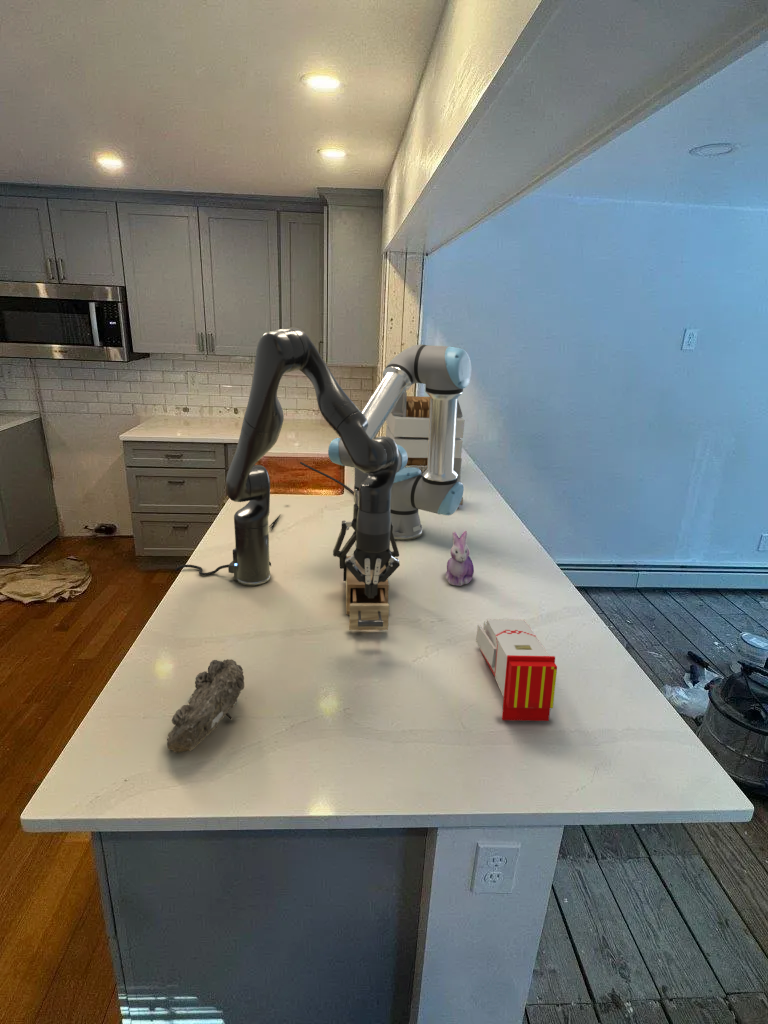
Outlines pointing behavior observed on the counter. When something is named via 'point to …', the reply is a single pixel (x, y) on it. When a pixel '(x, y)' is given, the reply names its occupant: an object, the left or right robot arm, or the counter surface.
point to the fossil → (206, 705)
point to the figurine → (459, 562)
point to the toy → (519, 668)
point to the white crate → (419, 430)
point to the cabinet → (361, 585)
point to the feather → (275, 522)
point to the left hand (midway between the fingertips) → (370, 596)
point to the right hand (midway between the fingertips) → (365, 578)
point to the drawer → (368, 611)
